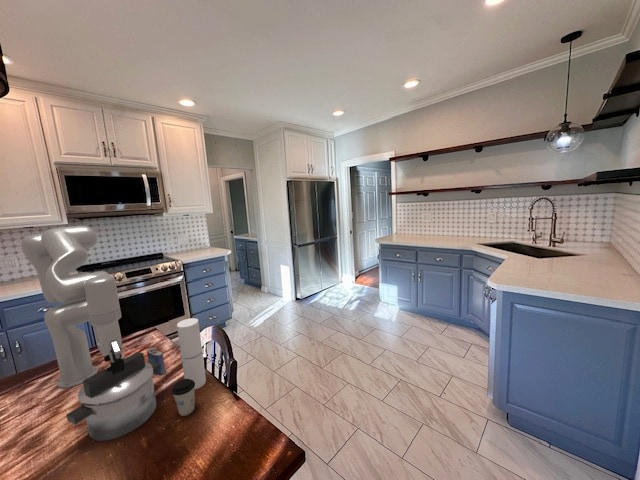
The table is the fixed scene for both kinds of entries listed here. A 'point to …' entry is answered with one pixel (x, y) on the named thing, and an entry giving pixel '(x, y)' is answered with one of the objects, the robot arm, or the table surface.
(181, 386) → the coffee cup
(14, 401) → the table surface
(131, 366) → the lid
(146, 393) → the cooker pot
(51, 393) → the table surface
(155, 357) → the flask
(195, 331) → the cylindrical container
